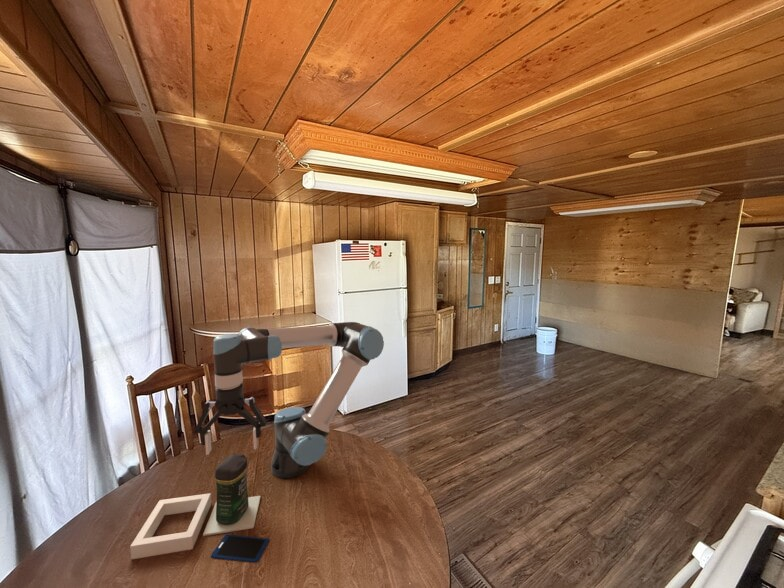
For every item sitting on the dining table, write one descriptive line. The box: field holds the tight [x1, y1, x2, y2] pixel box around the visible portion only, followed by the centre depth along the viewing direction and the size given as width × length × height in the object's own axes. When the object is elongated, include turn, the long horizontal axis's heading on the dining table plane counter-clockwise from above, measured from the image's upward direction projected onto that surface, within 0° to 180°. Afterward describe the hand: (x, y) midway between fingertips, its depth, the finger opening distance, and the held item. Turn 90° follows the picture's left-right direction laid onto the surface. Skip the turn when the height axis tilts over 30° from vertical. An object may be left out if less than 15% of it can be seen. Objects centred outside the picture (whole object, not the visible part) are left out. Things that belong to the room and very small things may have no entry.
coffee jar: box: [214, 453, 249, 525], centre depth 102 cm, size 10×8×19 cm
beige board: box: [202, 495, 262, 537], centre depth 103 cm, size 14×13×1 cm
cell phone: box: [210, 534, 270, 564], centre depth 92 cm, size 7×14×1 cm, turn 85°
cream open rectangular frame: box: [129, 492, 212, 560], centre depth 98 cm, size 15×17×4 cm
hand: (232, 449), depth 101 cm, fingers open, 13 cm apart
